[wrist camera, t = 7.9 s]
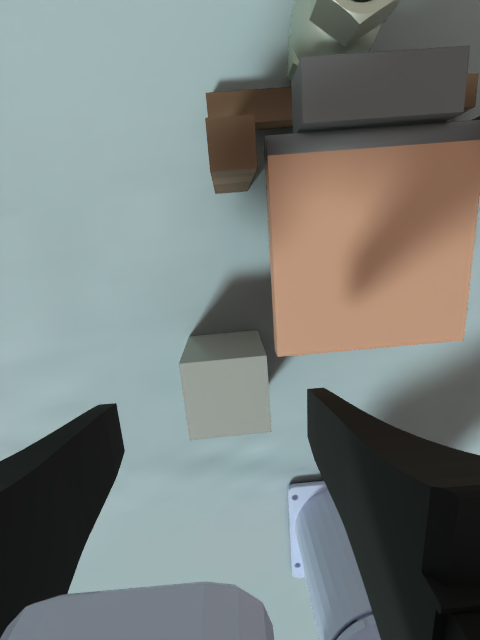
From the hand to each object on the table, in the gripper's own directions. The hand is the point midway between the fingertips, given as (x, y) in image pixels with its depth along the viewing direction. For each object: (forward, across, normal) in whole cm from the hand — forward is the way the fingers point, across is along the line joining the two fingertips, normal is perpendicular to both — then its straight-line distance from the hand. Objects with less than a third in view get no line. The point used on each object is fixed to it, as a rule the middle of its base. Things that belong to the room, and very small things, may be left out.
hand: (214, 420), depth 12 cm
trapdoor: (+6, -8, -7) cm, 12 cm away
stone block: (+10, 0, +2) cm, 11 cm away
